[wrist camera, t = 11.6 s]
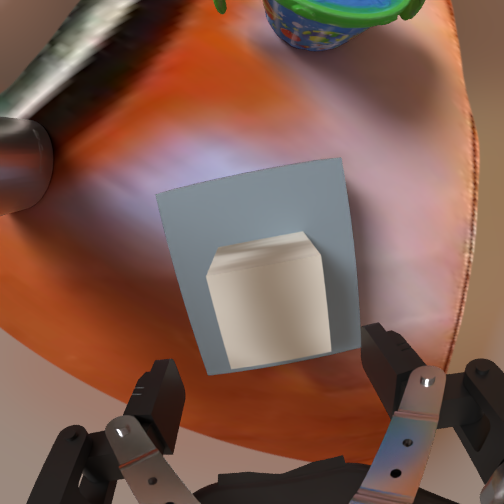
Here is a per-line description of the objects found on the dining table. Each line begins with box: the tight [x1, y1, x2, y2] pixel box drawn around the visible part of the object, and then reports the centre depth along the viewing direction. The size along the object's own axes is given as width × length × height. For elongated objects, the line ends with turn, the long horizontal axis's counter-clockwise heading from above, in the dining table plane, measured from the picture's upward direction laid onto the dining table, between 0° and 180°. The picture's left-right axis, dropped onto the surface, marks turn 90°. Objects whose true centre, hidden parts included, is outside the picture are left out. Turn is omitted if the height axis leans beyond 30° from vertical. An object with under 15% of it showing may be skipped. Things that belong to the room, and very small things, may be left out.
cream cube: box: [206, 231, 331, 369], centre depth 18 cm, size 6×6×6 cm
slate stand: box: [156, 157, 361, 375], centre depth 23 cm, size 12×14×6 cm
